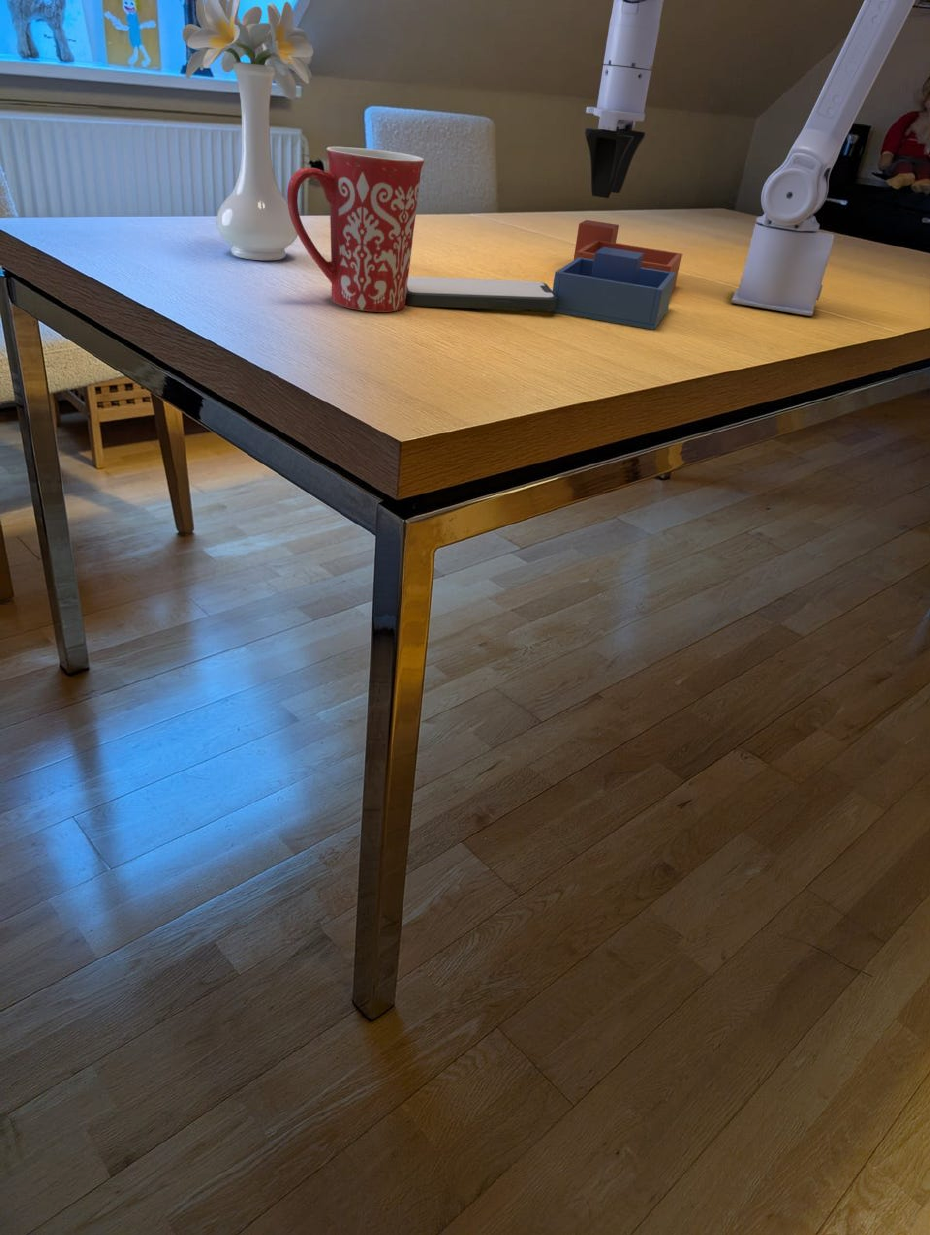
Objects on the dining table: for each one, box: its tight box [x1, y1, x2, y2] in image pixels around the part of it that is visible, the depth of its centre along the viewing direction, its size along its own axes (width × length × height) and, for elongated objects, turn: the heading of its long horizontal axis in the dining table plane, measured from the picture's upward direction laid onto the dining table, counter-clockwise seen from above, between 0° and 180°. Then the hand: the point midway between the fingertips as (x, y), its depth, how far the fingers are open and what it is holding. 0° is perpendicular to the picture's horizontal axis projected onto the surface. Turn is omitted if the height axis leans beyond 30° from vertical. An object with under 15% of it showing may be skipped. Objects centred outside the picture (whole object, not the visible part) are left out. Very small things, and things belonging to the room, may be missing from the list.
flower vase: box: [182, 0, 314, 262], centre depth 97 cm, size 13×18×25 cm
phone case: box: [405, 275, 558, 312], centre depth 93 cm, size 9×2×16 cm
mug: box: [286, 146, 425, 313], centre depth 84 cm, size 13×9×14 cm
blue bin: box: [549, 257, 676, 331], centre depth 95 cm, size 11×11×4 cm
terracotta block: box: [573, 219, 620, 260], centre depth 116 cm, size 4×4×6 cm
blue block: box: [591, 247, 644, 285], centre depth 95 cm, size 4×4×6 cm
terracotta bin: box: [576, 240, 683, 291], centre depth 108 cm, size 11×11×4 cm
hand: (605, 194), depth 111 cm, fingers open, 7 cm apart
